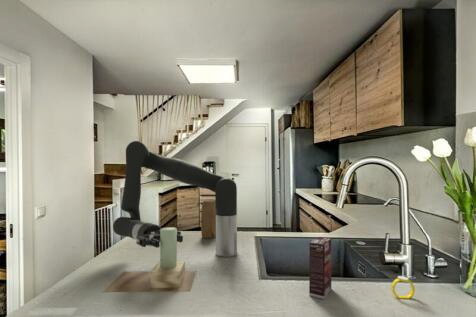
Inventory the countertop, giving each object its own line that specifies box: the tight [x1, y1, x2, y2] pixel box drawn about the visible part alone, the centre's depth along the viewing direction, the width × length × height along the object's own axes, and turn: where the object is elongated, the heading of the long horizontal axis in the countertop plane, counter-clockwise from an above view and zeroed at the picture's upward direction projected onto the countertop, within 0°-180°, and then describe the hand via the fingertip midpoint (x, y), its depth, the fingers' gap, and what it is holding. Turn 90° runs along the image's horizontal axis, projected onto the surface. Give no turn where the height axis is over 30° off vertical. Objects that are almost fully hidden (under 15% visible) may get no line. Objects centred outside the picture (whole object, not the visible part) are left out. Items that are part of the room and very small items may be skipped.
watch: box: [390, 275, 416, 300], centre depth 83 cm, size 6×3×6 cm, turn 84°
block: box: [200, 198, 216, 239], centre depth 154 cm, size 11×8×20 cm
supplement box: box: [308, 236, 332, 300], centre depth 87 cm, size 9×5×16 cm, turn 148°
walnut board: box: [103, 270, 197, 293], centre depth 93 cm, size 26×16×1 cm, turn 91°
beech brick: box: [150, 260, 186, 288], centre depth 92 cm, size 9×9×5 cm
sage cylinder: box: [159, 226, 178, 269], centre depth 92 cm, size 5×5×12 cm
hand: (170, 241), depth 92 cm, fingers open, 8 cm apart
